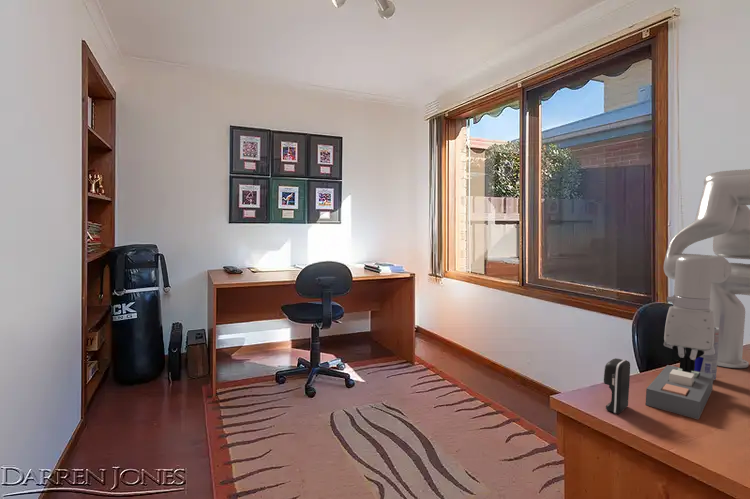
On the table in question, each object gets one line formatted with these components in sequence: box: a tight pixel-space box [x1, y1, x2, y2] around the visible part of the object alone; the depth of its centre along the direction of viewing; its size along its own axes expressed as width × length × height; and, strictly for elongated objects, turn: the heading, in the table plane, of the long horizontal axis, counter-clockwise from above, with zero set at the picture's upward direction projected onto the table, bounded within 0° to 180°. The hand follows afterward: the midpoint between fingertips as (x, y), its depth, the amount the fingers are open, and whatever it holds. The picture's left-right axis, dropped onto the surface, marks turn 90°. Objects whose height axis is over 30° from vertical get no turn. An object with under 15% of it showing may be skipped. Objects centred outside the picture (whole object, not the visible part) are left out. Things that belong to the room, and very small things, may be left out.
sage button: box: [677, 367, 699, 378], centre depth 108 cm, size 4×4×3 cm
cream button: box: [669, 369, 694, 387], centre depth 102 cm, size 4×4×3 cm
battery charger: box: [603, 358, 631, 415], centre depth 95 cm, size 7×4×11 cm, turn 132°
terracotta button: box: [662, 384, 689, 396], centre depth 96 cm, size 4×4×3 cm
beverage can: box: [694, 327, 719, 381], centre depth 114 cm, size 5×5×15 cm
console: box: [645, 364, 714, 421], centre depth 102 cm, size 24×10×4 cm, turn 135°
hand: (686, 372), depth 107 cm, fingers closed
